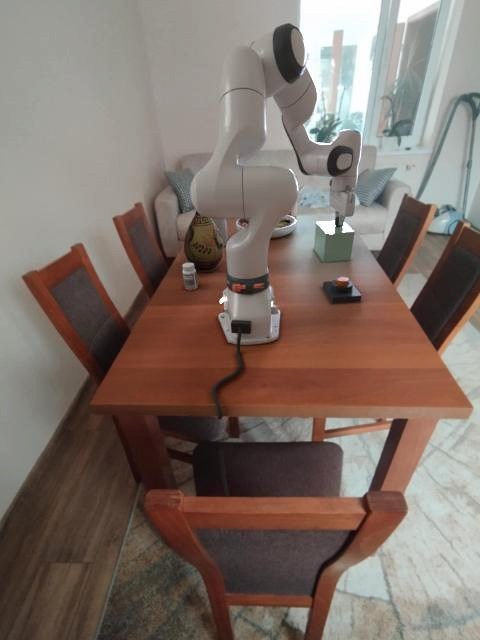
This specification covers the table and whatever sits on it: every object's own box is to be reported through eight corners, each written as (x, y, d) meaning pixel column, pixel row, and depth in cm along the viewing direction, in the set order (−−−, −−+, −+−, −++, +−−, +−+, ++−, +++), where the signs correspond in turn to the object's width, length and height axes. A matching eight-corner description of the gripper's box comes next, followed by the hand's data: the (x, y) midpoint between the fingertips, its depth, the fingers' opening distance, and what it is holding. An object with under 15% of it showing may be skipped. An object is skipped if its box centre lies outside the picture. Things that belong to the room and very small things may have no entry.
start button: (349, 286, 104) (350, 281, 103) (338, 287, 104) (339, 281, 103) (346, 281, 107) (346, 276, 106) (335, 282, 107) (335, 277, 106)
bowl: (304, 226, 170) (305, 209, 165) (281, 243, 150) (282, 225, 145) (252, 221, 182) (252, 205, 177) (225, 237, 162) (224, 220, 157)
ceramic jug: (225, 275, 125) (217, 186, 106) (185, 277, 125) (170, 189, 107) (226, 258, 138) (219, 177, 120) (190, 260, 139) (177, 180, 120)
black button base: (360, 301, 103) (362, 290, 101) (332, 304, 103) (333, 292, 101) (348, 285, 113) (350, 274, 110) (322, 287, 112) (323, 276, 110)
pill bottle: (192, 283, 120) (188, 261, 115) (201, 286, 118) (197, 263, 113) (182, 288, 117) (178, 265, 112) (191, 291, 115) (187, 268, 110)
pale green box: (351, 262, 129) (356, 232, 122) (324, 264, 129) (327, 234, 122) (338, 247, 143) (342, 220, 136) (313, 248, 143) (316, 221, 136)
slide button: (343, 226, 129) (344, 218, 127) (336, 226, 129) (336, 218, 127) (341, 224, 131) (342, 216, 129) (334, 225, 131) (335, 216, 129)
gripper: (362, 188, 113) (355, 230, 121) (344, 178, 129) (339, 216, 137) (344, 189, 113) (338, 231, 121) (328, 179, 129) (324, 217, 137)
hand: (339, 223), depth 129 cm, fingers closed on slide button, 2 cm apart
